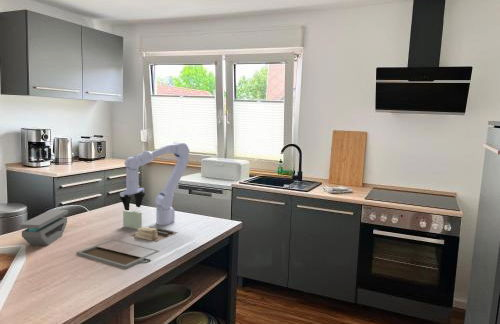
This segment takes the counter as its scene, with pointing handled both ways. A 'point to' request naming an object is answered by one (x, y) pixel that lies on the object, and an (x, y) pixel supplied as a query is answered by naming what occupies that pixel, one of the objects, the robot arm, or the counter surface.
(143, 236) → the offcut lower
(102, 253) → the grey framed board
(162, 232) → the rack
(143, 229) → the offcut upper
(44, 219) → the grey slotted block
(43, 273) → the counter surface
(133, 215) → the sage green block
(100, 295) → the counter surface
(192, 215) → the counter surface
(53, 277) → the counter surface
